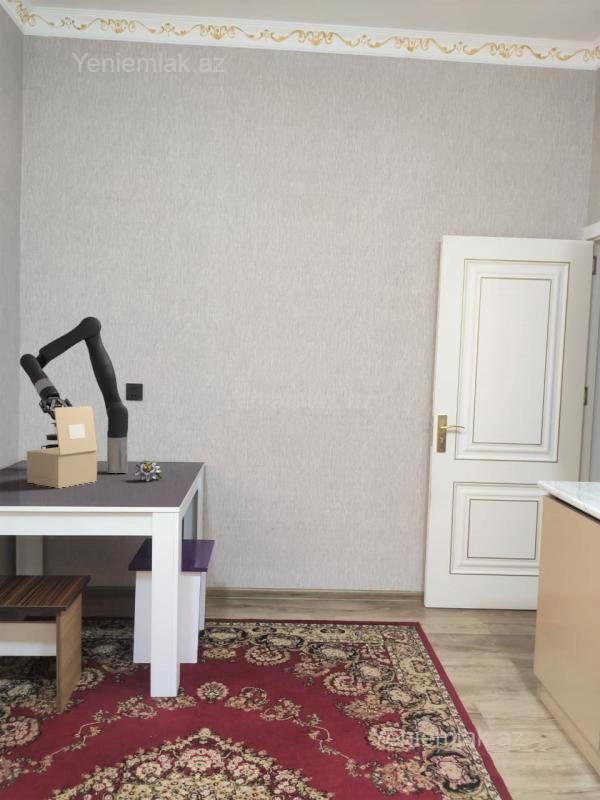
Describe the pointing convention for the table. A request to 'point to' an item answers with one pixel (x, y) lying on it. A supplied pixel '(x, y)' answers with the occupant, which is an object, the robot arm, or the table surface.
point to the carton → (61, 467)
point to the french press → (52, 437)
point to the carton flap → (75, 429)
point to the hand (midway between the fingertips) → (64, 418)
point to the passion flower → (148, 470)
